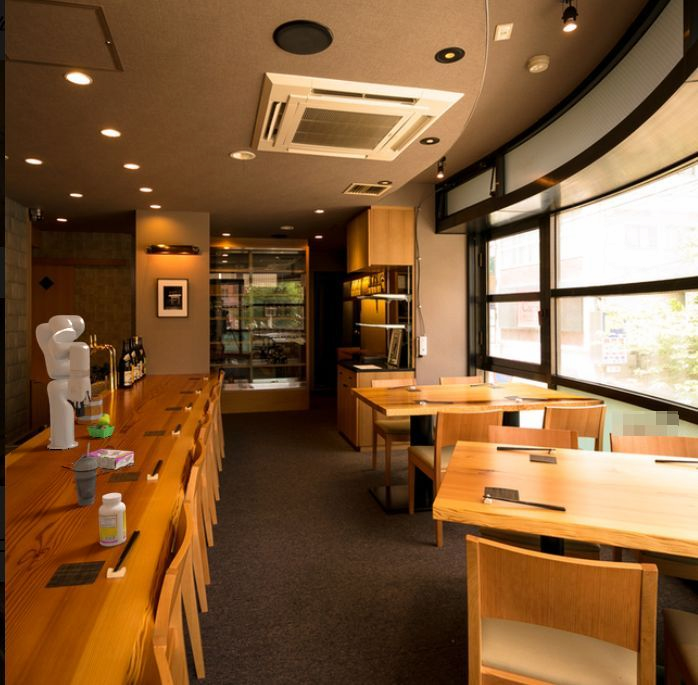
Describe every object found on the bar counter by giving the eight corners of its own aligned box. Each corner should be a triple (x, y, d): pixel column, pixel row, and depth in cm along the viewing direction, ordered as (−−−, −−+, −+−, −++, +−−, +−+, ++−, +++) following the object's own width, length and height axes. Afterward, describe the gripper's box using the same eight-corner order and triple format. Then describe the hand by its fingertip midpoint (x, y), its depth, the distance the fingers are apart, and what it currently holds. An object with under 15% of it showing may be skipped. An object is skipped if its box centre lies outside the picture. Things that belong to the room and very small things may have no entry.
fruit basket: (86, 437, 259) (85, 415, 259) (100, 433, 268) (100, 412, 267) (103, 439, 255) (102, 417, 255) (117, 435, 263) (116, 413, 263)
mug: (104, 423, 293) (103, 397, 293) (77, 425, 287) (76, 398, 286) (101, 417, 311) (101, 392, 310) (76, 419, 304) (75, 394, 303)
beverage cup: (79, 499, 172) (78, 440, 171) (102, 499, 173) (101, 440, 172) (69, 507, 165) (68, 446, 164) (93, 507, 166) (92, 445, 164)
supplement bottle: (117, 534, 145) (116, 489, 144) (131, 540, 141) (130, 494, 141) (94, 543, 140) (93, 496, 139) (108, 549, 136) (107, 501, 135)
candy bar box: (101, 447, 219) (134, 451, 214) (101, 459, 219) (134, 463, 214) (81, 454, 208) (115, 458, 203) (81, 466, 208) (115, 470, 204)
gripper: (60, 372, 217) (61, 415, 219) (82, 376, 210) (82, 421, 212) (77, 370, 224) (77, 412, 226) (99, 374, 216) (99, 417, 218)
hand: (80, 416), depth 219 cm, fingers closed
